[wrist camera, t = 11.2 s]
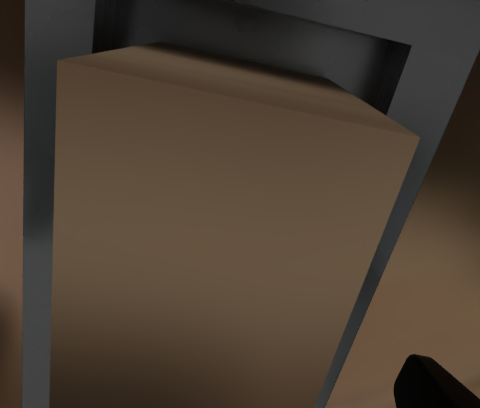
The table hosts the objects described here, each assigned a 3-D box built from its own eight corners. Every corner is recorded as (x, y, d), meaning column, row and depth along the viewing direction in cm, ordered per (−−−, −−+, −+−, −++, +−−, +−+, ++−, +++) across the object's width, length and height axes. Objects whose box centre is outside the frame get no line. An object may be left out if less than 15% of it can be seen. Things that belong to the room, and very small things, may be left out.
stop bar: (235, 406, 13) (228, 622, 8) (119, 387, 12) (44, 600, 8) (328, 78, 9) (420, 137, 4) (160, 41, 8) (57, 60, 4)
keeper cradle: (280, 451, 14) (284, 501, 13) (46, 413, 13) (21, 460, 12) (460, -6, 8) (506, -13, 7) (67, -108, 8) (25, -140, 6)
